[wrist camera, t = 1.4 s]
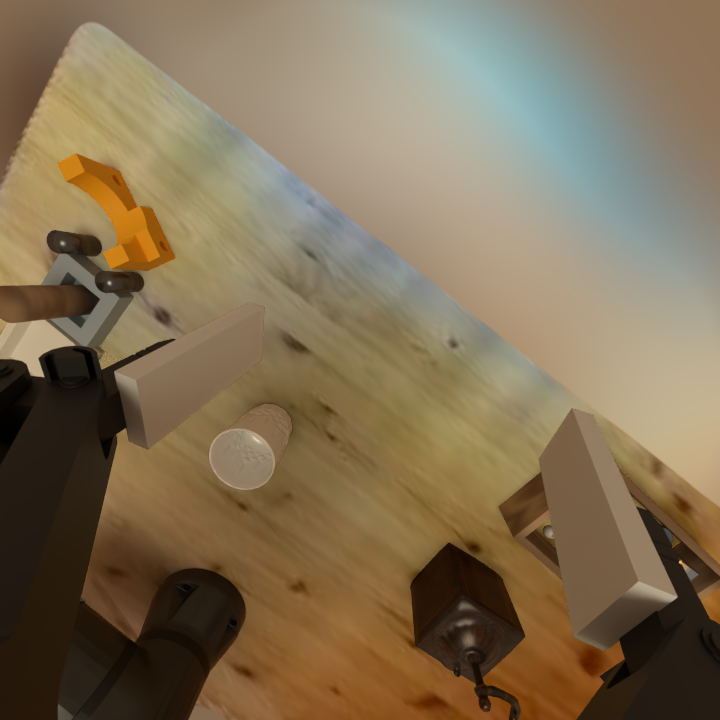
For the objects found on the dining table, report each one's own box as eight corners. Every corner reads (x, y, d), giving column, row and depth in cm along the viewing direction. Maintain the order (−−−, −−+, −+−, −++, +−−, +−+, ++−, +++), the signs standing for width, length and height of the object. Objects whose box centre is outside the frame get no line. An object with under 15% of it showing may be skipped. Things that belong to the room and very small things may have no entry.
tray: (67, 404, 51) (51, 411, 49) (5, 355, 50) (-15, 360, 48) (104, 352, 49) (89, 355, 46) (40, 299, 48) (21, 300, 45)
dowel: (91, 320, 47) (16, 330, 38) (68, 300, 47) (-15, 305, 37) (106, 298, 47) (32, 303, 37) (82, 278, 46) (1, 277, 36)
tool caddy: (605, 601, 52) (633, 642, 46) (498, 507, 50) (513, 537, 44) (692, 542, 49) (734, 578, 43) (582, 438, 46) (610, 461, 41)
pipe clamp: (176, 258, 45) (142, 254, 39) (148, 270, 46) (111, 269, 40) (132, 166, 43) (89, 146, 37) (104, 180, 44) (56, 163, 38)
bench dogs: (137, 295, 47) (108, 297, 42) (79, 246, 46) (42, 243, 41) (147, 281, 46) (119, 281, 41) (89, 231, 45) (53, 225, 40)
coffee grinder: (405, 587, 54) (414, 734, 37) (448, 540, 52) (480, 673, 34) (484, 637, 55) (529, 803, 38) (530, 593, 53) (601, 749, 35)
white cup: (266, 388, 48) (236, 415, 39) (308, 424, 49) (288, 460, 39) (232, 425, 50) (195, 459, 40) (273, 460, 51) (246, 502, 41)
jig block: (100, 344, 49) (85, 348, 46) (48, 301, 48) (30, 303, 45) (133, 297, 47) (119, 298, 44) (79, 251, 46) (62, 249, 43)
